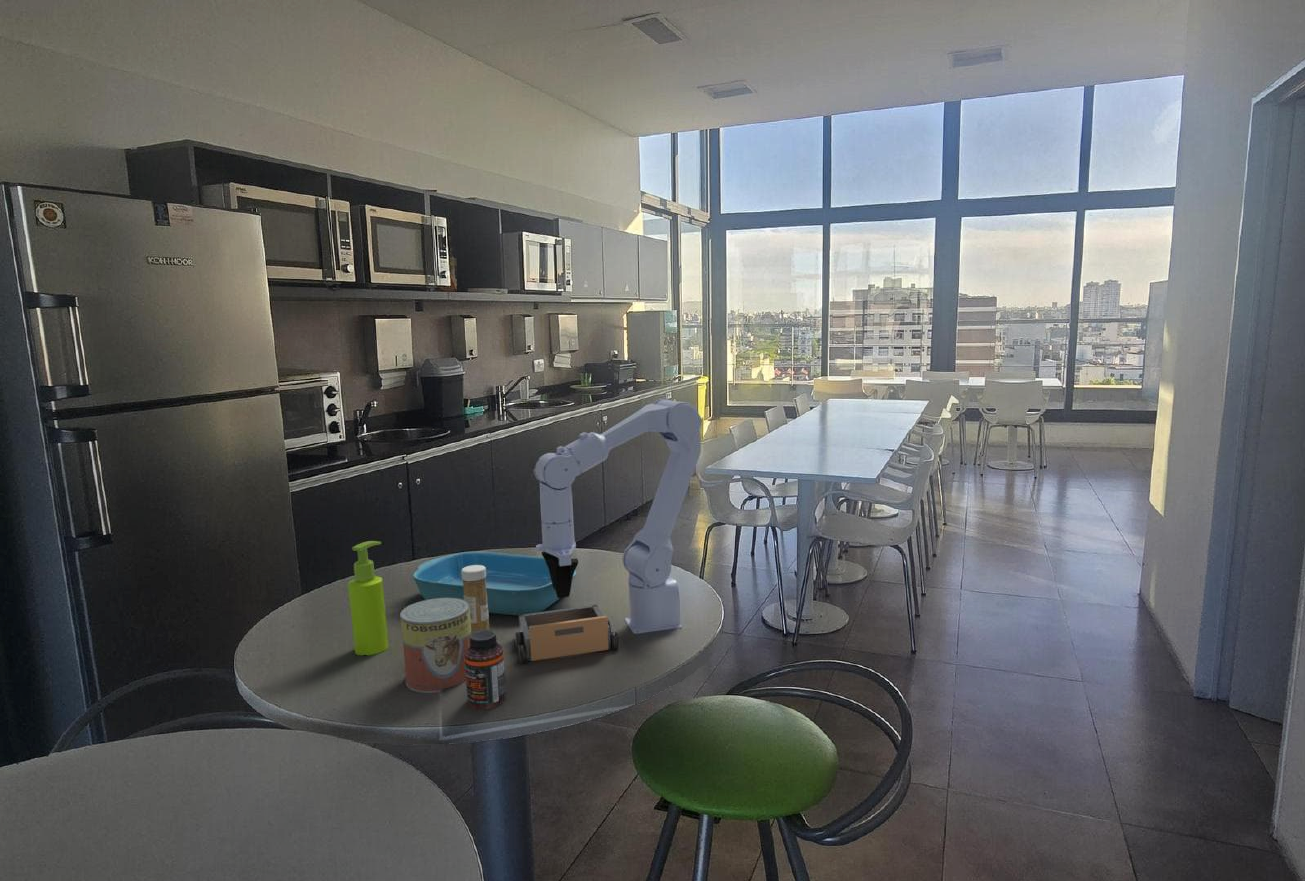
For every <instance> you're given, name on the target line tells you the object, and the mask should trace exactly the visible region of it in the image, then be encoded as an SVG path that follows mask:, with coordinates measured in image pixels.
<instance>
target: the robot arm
mask: <svg viewBox="0 0 1305 881" xmlns="http://www.w3.org/2000/svg"><path fill="white" fill-rule="evenodd" d="M702 423H703V419H702V417H701V416H700V414H699V412H698V410H697V408H696V407H695V406H694V405H693V404H692V403H690V402H688V401H678V400H671V399H667V398H660V399H657V400H656V401H654V402H653V403H648V404H646V405H644V406H643V407H642V408H640V409H639V410H637V411H636V412H633V413H632V414H631V415H629V416H628V417H626V418H625V419H623V420H621V421H620V422H618V423H617V424H615V425H613V426H612V427H610V428H609V429H607V430H605V431H604V432H602V433H597V432H594V431H593V432H592V431H590V432H589V433H588V432H585V431H583V432H582V433H580V434H578V439H576V440H574V441H571V442H570V443H568V444H567V445H565V446H562V445H560V446H558V447H556V453H555V452H547V453H545V454H543V455H541V456H540V457H539V458H538V460H537V461H536V463H535V467H534V469H533V474H534V476H535V478H536V480H537V481H538V482H539V504H540V518H541V519H540V520H541V521H540V522H541V535H542V536H541V537H542V539H541V540H542V543H541V544H540V543H539V544H537V545H535V549H536V551H537V552H541V553H540V554H541V557H544V559H545V561H546V564H547V566H548V569H549V573H550V577H551V581H552V585H553V588H554V590H555V591H556V594H557V597H558V598H560V599H562V598H569V597H570V595H571V591H572V589H571V588H572V583H573V579H574V578H573V574H574V571H576V569H577V567H578V564H579V560H578V558H577V557H576V558H572V555H573V552H574V551H575V549H576V548H577V544H576V543H577V542H576V541H575V528H574V526H575V524H574V510H573V492H572V484H573V483H574V481H575V479H576V477H578V476H580V475H581V474H583V473H585V472H586V471H589V470H590V469H592V468H594V467H596V466H597V465H599V464H601V463H602V462H604V461H606V460H607V459H608V457H609V453H610V451H611V450H612V449H614V448H616V447H619V446H620V445H623V444H624V443H626V442H628V441H630V440H633V439H634V438H636V437H639V436H640V435H642V434H644V433H647V432H653V433H658V434H659V435H660V436H661V437H662V438H663V439H664V441H665V443H666V445H667V446H668V447H667V448H668V449H669V451H670V453H669V456H668V460H667V462H666V465H665V467H664V470H663V474H662V477H661V479H660V481H659V484H658V486H657V490H656V493H655V494H654V497H653V498H654V499H653V502H652V504H651V507H650V509H649V512H648V515H647V518H646V521H645V524H644V526H643V527H642V529H640V530H639V531H638V532H637V533H636V534H634V537H633V539H632V541H631V542H630V544H629V545H628V546H627V548H625V550H624V552H623V555H622V564H623V567H624V568H625V570H626V571H627V572H628V579H627V580H628V595H629V596H628V599H629V602H628V603H629V617H626V618H624V621H625V623H626V624H627V626H628V627H629V629H630V630H631V631H632V634H635V635H637V634H643V633H651V632H659V631H665V630H671V629H682V624H681V600H680V599H681V598H680V596H681V595H680V590H679V585H678V583H677V580H676V578H674V577H673V578H672V577H670V575H671V573H672V557H673V554H674V548H673V544H672V541H671V536H672V534H673V531H674V528H675V525H676V522H677V519H678V518H679V515H680V511H681V508H682V506H683V503H684V500H685V498H686V494H687V492H688V488H689V486H690V483H691V480H692V477H693V474H694V472H695V469H696V467H697V464H698V461H699V459H700V456H701V451H702V447H701V429H700V428H701V426H702ZM572 578H573V579H572Z"/></svg>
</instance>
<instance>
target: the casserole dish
mask: <svg viewBox="0 0 1305 881" xmlns="http://www.w3.org/2000/svg"><path fill="white" fill-rule="evenodd" d="M471 565H482V566H484V567H485V568H486V592H487V601H488V613H489V614H496V615H505V616H506V615H508V616H519V615H523V614H530V613H538V612H544V611H546V609H548V608H549V607H550V606H552V605H553V604H554V603H555V602H557V601H559V600H560V599H561V598H558V597H557V594H556V591H555V590H554V588H553V585H552V581H551V577H550V573H549V569H548V566H547V564H546V561H545V559H544V557H543V556H534V555H523V554H513V553H502V552H489V551H464V552H458V553H457V552H456V553H452V554H450V555H445V556H441V557H436V558H433V559H430V560H426V561H425V562H423V563H421V564H419V565H417V570H416V571H415V572H414V573H413V574H412V577H413V579H414V581H415V584H416V587H417V588H418V591H419V593H420V594H421V596H422V598H423V599H424V600H428V599H434V598H459V599H463V600H464V589H463V581H462V576H461V570H462V569H463V568H464V567H467V566H471ZM577 575H578V573H577V570H575V571H574V574H573V578H572V580H573V579H574V578H576V576H577Z"/></svg>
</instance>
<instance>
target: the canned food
mask: <svg viewBox="0 0 1305 881" xmlns="http://www.w3.org/2000/svg"><path fill="white" fill-rule="evenodd" d="M399 618H400V626H401V637H402V648H403V659H404V660H403V661H404V670H405V671H404V672H405V685H406V687H407V689H409V690H411V691H413V692H417V693H423V694H433V693H434V694H436V693H437V694H438V693H442V692H443V689H447V688H451V687H454V686H457V685H460V684H462V683H464V682H466V672H465V657H464V656H465V651H466V649H467V648H468V647H469V646H470V635H471V621H470V604H469V603H468V602H467V601H465V600H463V599H459V598H434V599H428V600H425V599H424V600H420V601H416V602H414V603H412V604H410V605H407V606H406V607H404V608H403V609H402V610H401V611H400V613H399Z"/></svg>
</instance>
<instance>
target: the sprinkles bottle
mask: <svg viewBox="0 0 1305 881" xmlns="http://www.w3.org/2000/svg"><path fill="white" fill-rule="evenodd" d="M461 576H462V581H463V589H464V600H465V601H467V602H468V603H469V604H470V621H471V634H472V633H474V632H476V631H480V630H491V628H490V620H489V618H490V617H489V614H490V613H488V601H487V592H486V568H485V567H484V566H482V565H471V566H467V567H464V568H463V569H462V570H461Z"/></svg>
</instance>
